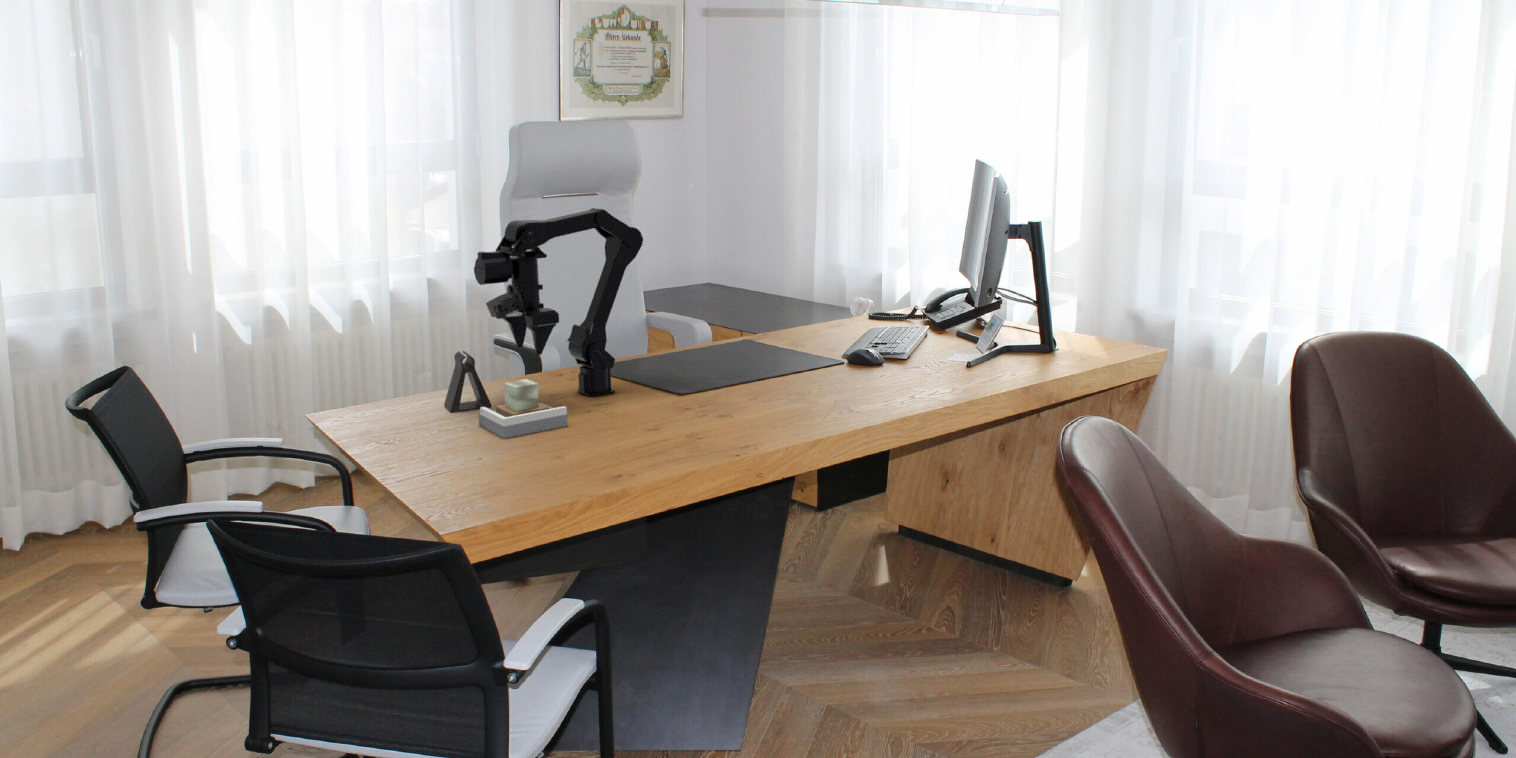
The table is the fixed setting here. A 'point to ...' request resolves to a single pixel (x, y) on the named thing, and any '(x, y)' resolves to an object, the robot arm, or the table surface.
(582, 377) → the robot arm
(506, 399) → the cube on wooden base
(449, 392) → the phone stand
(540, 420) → the dock
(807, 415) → the table surface
